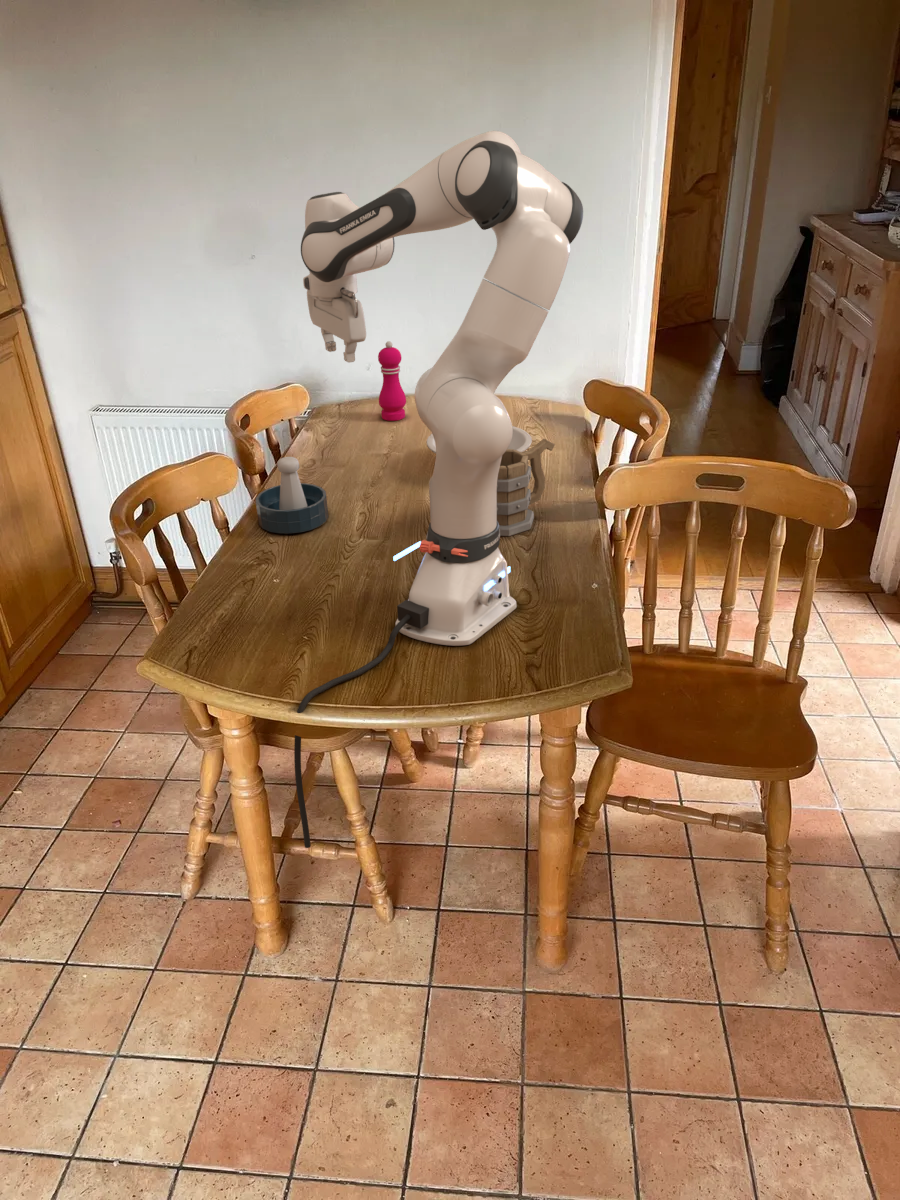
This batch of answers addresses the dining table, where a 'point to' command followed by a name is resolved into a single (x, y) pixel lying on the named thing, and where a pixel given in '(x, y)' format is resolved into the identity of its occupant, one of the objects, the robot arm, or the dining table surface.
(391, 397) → the pepper mill
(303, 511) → the glazed bowl
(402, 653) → the dining table surface
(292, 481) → the salt shaker
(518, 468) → the tankard
